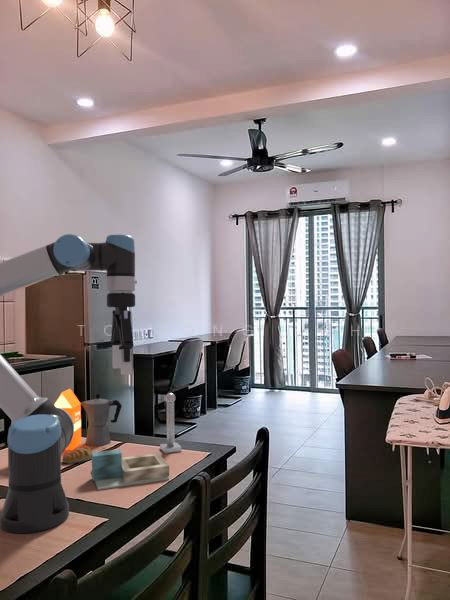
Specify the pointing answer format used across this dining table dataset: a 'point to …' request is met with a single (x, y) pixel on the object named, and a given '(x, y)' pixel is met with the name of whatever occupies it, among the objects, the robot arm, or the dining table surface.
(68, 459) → the pastry
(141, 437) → the dining table surface
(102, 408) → the coffeepot
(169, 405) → the stand
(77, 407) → the orange juice
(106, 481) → the mat
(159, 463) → the sponge holder
